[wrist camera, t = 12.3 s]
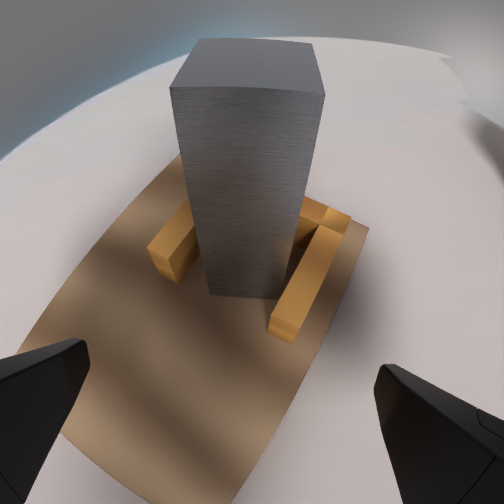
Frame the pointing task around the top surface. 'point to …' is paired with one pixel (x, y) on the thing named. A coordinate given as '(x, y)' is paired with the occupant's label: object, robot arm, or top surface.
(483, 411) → the robot arm
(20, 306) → the top surface
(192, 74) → the link bar
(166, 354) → the plate
